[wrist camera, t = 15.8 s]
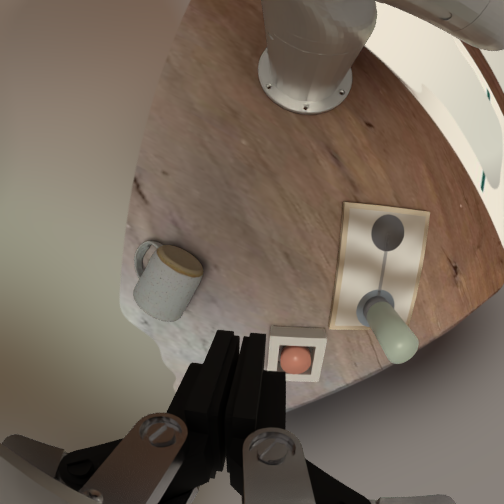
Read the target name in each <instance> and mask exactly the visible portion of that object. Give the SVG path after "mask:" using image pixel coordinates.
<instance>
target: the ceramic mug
mask: <svg viewBox="0 0 504 504" xmlns="http://www.w3.org/2000/svg"><path fill="white" fill-rule="evenodd" d="M150 245H154V246H155V247H156V248H157V250H156V251H155V252H154V254H153V255H152V257H151V259H150V260H149V262H148V264H147V267H146V268H145V270H144V271H143V267H142V258H143V255H144V254H145V252H146V251H147V249H149V247H150ZM134 267H135V271H136V274H137V276H138V278H139V281H138V283H137V284H136V286H135V289H134V293H133V296H134V299H135V301H136V303H137V304H138V306H139V307H140V308H141V309H142V310H143V311H144V312H146V313H147V314H148V315H150V316H152V317H154V318H156V319H158V320H161V321H167V322H173V321H176V320H178V319H179V318H180V317H181V316H182V314H183V312H184V310H185V309H186V307H187V305H188V303H189V301H190V300H191V298H192V296H193V294H194V292H195V291H196V289H197V287H198V285H199V284H200V281H201V279H202V276H203V268H202V265H201V264H200V262H199V261H198V260H197V259H196V258H195V257H194V256H192V255H191V254H190V253H188V252H186V251H185V250H183V249H181V248H178V247H175V246H172V245H162V244H160V243H158V242H155V241H146V242H144V243H142V244H141V245H140V246H139V247H138V249H137V251H136V253H135V257H134Z"/></svg>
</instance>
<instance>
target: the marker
mask: <svg viewBox="0 0 504 504" xmlns="http://www.w3.org/2000/svg"><path fill="white" fill-rule="evenodd" d="M363 315H364V317H365V318H366V320H367V322H368V324H369V325H370V327H371V329H372V331H373V332H374V334H375V336H376V338H377V340H378V341H379V343H380V345H381V347H382V349H383V350H384V352H385V354H386V356H387V358H388V359H389V361H390V362H392V363H395V364H399V363H403V362H406V361H407V360H409V359H410V358H411V357H412V356H413V355H414V354H415V353H416V351H417V349H418V339H417V337H416V336H415V335H414V333H413V332H412V331H411V330H410V328H409V327H408V326H407V325H406V323H405V322H404V321H403V320H402V318H401V317H400V316H399V315H398V313H397V312H396V311H395V310H394V308H393V307H392V306H391V305H390V304H389V302H388V301H387V300H386V299H385V298H384V297H382V296H374V297H372V298H370V299H369V300H368V301H367V302H366V303H365V305H364V307H363Z"/></svg>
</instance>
